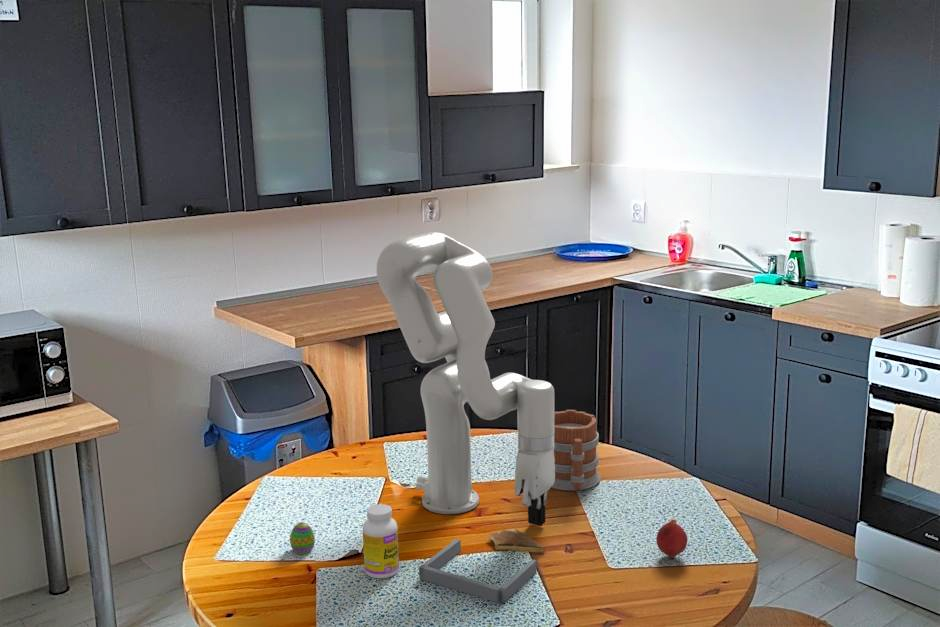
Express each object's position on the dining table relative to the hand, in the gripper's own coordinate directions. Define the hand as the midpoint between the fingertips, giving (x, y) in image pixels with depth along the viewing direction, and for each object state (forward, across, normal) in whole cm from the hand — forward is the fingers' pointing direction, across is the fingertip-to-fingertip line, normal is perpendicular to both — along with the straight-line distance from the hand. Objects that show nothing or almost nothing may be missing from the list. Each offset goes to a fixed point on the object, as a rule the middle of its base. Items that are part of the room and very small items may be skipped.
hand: (536, 523), depth 200 cm
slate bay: (+1, +23, 0) cm, 23 cm away
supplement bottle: (+1, +31, -17) cm, 35 cm away
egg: (+1, +32, -36) cm, 48 cm away
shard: (+1, +8, 0) cm, 8 cm away
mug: (+1, -23, -3) cm, 23 cm away
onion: (+1, -1, +29) cm, 29 cm away
